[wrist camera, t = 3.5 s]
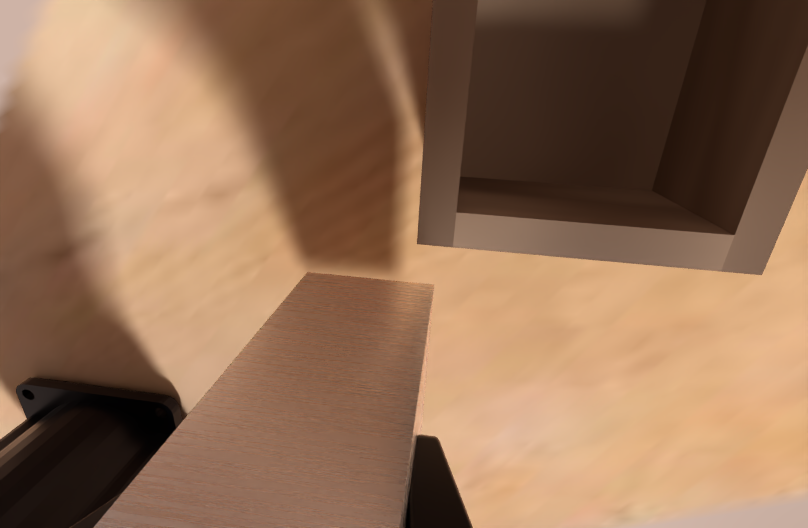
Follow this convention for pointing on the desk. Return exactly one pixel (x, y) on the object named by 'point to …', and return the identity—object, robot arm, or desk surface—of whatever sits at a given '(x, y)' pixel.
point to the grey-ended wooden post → (301, 419)
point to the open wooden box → (616, 129)
